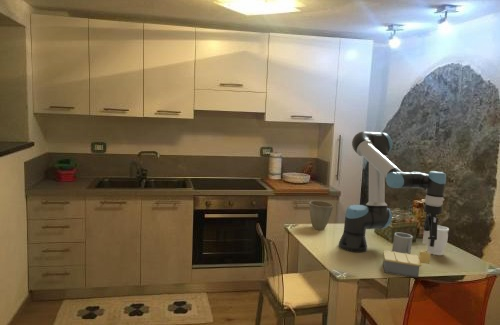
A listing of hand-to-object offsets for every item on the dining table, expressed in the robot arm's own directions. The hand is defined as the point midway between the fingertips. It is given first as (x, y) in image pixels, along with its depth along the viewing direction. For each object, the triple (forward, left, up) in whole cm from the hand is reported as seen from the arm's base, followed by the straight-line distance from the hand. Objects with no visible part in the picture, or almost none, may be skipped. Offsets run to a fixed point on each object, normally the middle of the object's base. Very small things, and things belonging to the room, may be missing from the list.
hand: (427, 248), depth 198 cm
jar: (+11, +37, -13) cm, 41 cm away
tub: (-11, 0, -13) cm, 17 cm away
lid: (-9, 0, -7) cm, 11 cm away
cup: (-9, +21, -14) cm, 27 cm away
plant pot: (-55, +52, -13) cm, 77 cm away
